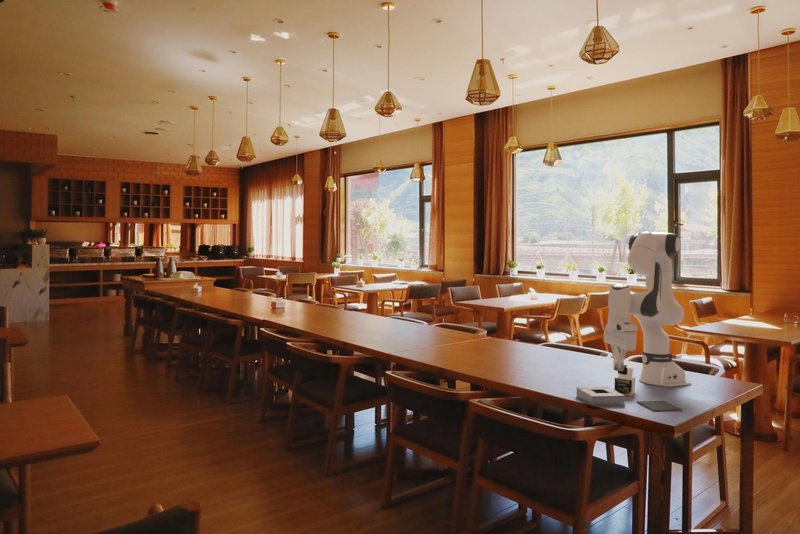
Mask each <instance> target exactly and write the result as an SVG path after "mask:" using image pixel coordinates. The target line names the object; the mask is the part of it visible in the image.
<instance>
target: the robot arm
mask: <svg viewBox="0 0 800 534" xmlns="http://www.w3.org/2000/svg"><path fill="white" fill-rule="evenodd" d="M681 245H682V242H681V239H680V236H679V235H678V234H677V233H673V232H658V231H653V232H649V231H643V232H639V233H634V234H632V235H631V236H630V237H629V240H628V250H629V254H628V256H627V263H628V265H629V267H630V269H631V270H632V271H634V272H635V273H636V274H639V275H642V276H645V288H646V289H647V291H640V292H639V291H631V286H630V285H628V284H625V283H618V284H612V285H611V286H610V288H609V291H608V298H607V299H608V300H607V301H608V302H607V306H608V314H607V322H606V325H605V326H604V329H603V330H604V331H603V342H604V343H605V344H608V345H610V348H611V351H612V356H613V355H614V346H616V347H619V348H620V351H621V353H620V354H619V358H620V359H624V360H625V359H626V354H627V352H633V351H634V352H635V351H636V348H637V338H638V337H637V332H638V326H637V325H636V324H635V323H634V321H632V315H633V316H634V318H636V320H637V321H638V323H639V325H640V328H641V331H642V334H643V351H642V355H641V357H642V359H641V360H642V361H641V362H642V367H641V373H640V375H639V379H638V381H639V382H641V383H643V384H648V385H654V386H661V387H667V388H668V387H670V388H671V387H679V386H680V387H681V386H690V385H692V383H691V381H690V380H688V379H687V378H686V377H687V376H686V374H685V373H686V372H685V370H684V369H683V368H682V367H680V365H678V364H677V363H676V362H675V361H674V360H677V359H678V355H677V354H672V353H670V336H669V334H668V333H666V331H665V330H664V328H663V326H662V325H665V326H674V325H676V326H677V325H679V324H680V323H682V321H683V319H684V317H685V310H684V308H683V306H682V305H680V303H679V302H678V301H677V299H676V296H675V295H674V291H673V285H672V284H673V283H672V282H673V281H672V280H673V278H672V277H673V264H672V263H673V261H672V259H673V257H674V256H676V255H677V254H678V253H679V252H680V249H681Z"/></svg>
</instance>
